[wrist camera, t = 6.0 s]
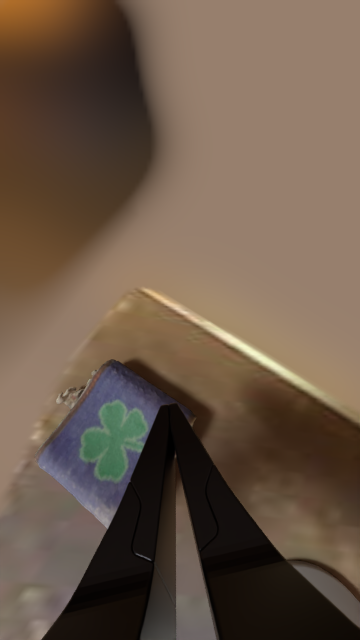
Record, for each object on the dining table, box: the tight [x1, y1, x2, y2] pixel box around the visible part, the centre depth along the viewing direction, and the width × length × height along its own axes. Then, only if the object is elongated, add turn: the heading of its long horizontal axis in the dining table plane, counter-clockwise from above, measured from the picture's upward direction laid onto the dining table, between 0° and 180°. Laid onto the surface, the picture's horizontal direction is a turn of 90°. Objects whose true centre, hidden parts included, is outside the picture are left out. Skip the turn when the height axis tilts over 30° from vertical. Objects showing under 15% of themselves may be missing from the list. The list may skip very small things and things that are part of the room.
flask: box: [35, 359, 196, 529], centre depth 15 cm, size 9×3×11 cm
